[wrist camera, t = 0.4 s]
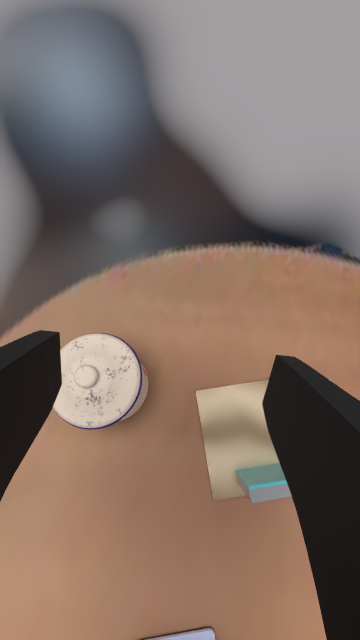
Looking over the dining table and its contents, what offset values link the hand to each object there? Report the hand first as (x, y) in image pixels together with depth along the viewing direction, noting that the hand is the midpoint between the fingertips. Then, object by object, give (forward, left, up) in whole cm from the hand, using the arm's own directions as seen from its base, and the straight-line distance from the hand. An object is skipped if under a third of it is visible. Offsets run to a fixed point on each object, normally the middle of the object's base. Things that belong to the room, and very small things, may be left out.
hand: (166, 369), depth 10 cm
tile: (-10, -8, -27) cm, 30 cm away
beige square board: (-6, -8, -27) cm, 29 cm away
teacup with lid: (+3, +9, -28) cm, 29 cm away
